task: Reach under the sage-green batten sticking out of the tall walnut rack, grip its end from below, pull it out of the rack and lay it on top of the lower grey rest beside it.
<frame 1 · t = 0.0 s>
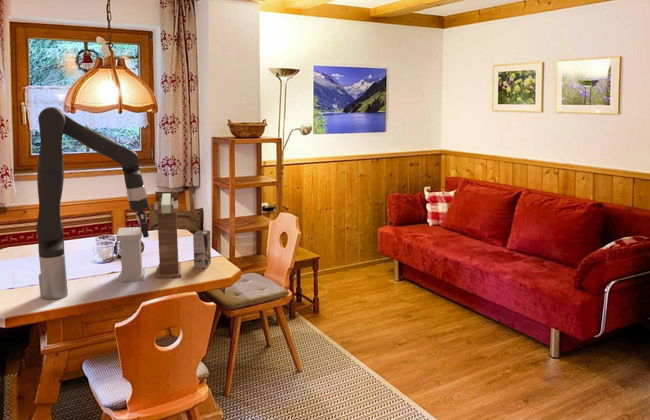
hand: (145, 234, 243), 22 cm above the table, tool pointing down, fingers open, 8 cm apart
coffee box: (202, 265, 276), on the table
batten: (166, 206, 252), point 32 cm above the table, touching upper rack
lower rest: (132, 276, 258), on the table
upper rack: (169, 272, 265), on the table
tin: (129, 255, 290), on the table
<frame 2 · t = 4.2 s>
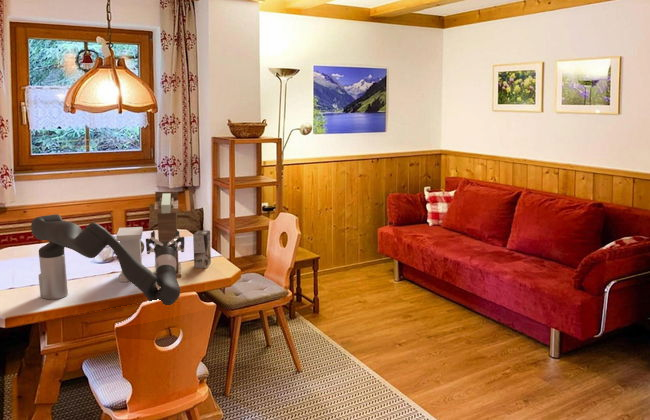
hand: (165, 231, 225), 28 cm above the table, tool pointing upward, fingers open, 8 cm apart
nothing on the table moved.
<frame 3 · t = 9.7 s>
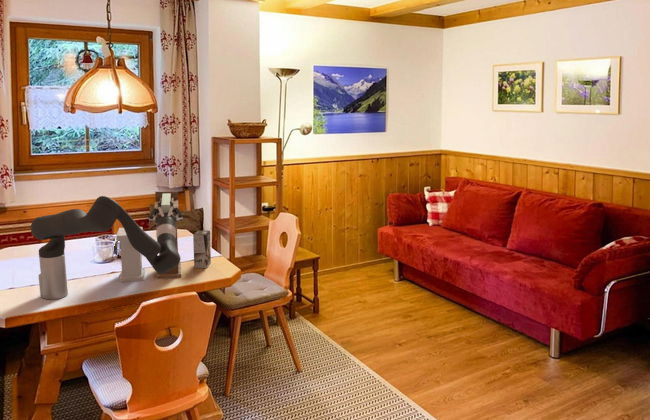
hand: (165, 203, 244), 35 cm above the table, tool pointing upward, fingers closed on batten, 3 cm apart
batten: (166, 206, 252), point 32 cm above the table, touching gripper, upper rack
everything else where it was.
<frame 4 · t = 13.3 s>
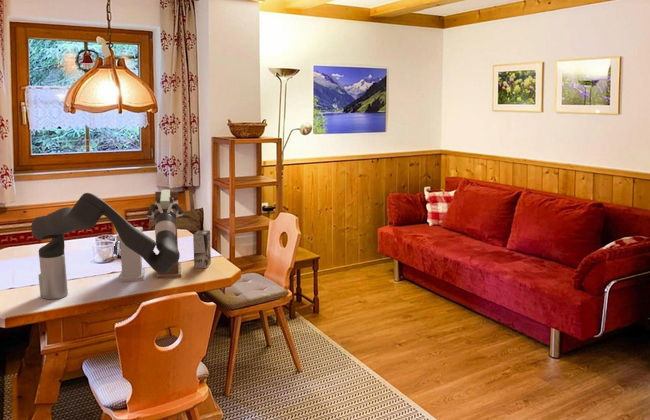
hand: (165, 199, 233), 39 cm above the table, tool pointing upward, fingers closed on batten, 3 cm apart
batten: (165, 203, 240), point 36 cm above the table, touching gripper
everything else where it was.
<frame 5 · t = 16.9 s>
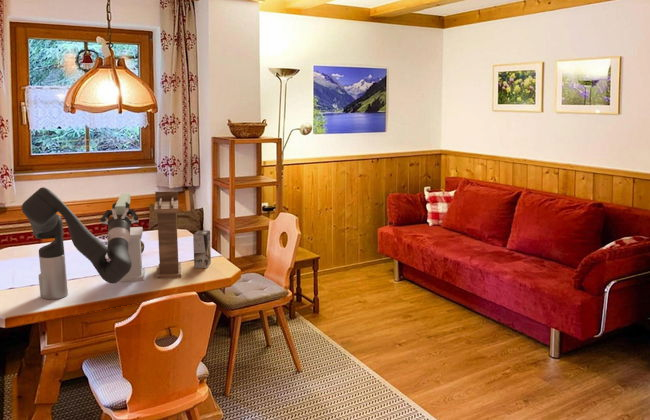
hand: (121, 204, 221), 39 cm above the table, tool pointing upward, fingers closed on batten, 3 cm apart
batten: (123, 208, 229), point 36 cm above the table, touching gripper
everything else where it was.
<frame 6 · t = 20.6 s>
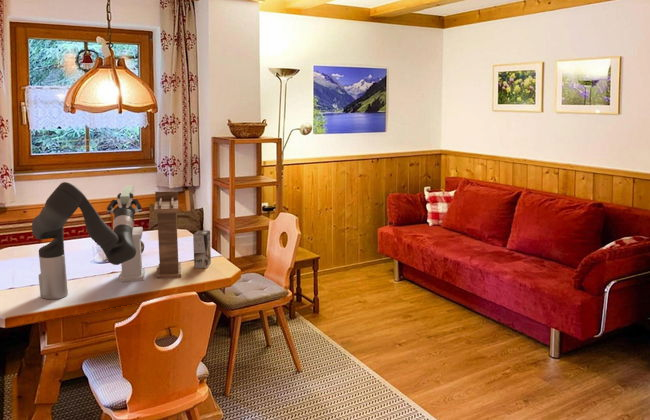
hand: (125, 194, 240), 39 cm above the table, tool pointing upward, fingers closed on batten, 3 cm apart
batten: (127, 198, 247), point 36 cm above the table, touching gripper
everything else where it was.
when the fingers open (26 cm above the table, at t = 24.1 s): batten drops 2 cm, resting on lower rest.
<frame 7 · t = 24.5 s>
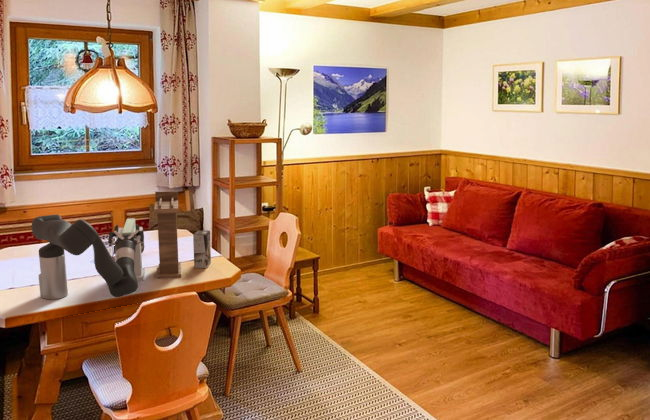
hand: (127, 226, 242), 26 cm above the table, tool pointing upward, fingers open, 7 cm apart
batten: (129, 233, 250), point 21 cm above the table, touching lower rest
everything else where it was.
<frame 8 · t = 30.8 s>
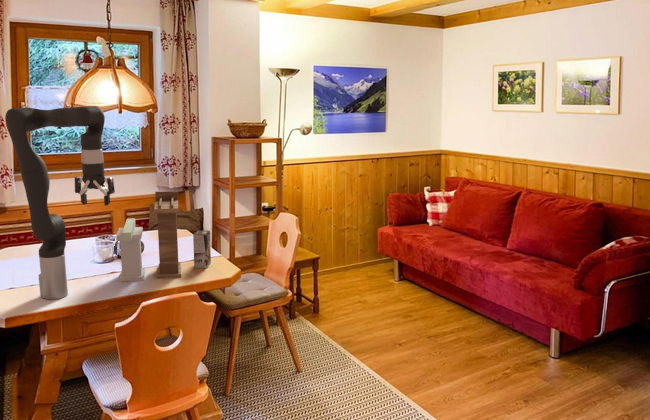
hand: (95, 204, 215), 40 cm above the table, tool pointing down, fingers open, 8 cm apart
nothing on the table moved.
at the end: batten inside the target area on the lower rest (1.0 cm from its centre), point 21.0 cm above the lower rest's base; batten touching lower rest; the gripper is holding nothing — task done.
